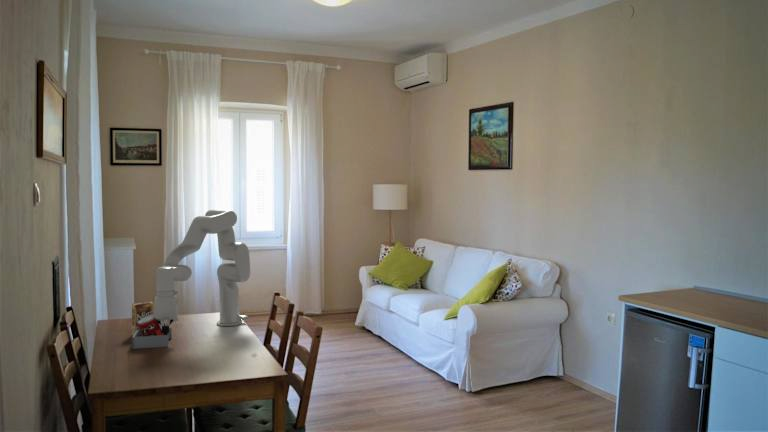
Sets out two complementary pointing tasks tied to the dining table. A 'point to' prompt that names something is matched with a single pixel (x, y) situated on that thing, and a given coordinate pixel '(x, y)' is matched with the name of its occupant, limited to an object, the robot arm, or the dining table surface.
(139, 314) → the candy box
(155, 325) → the canned food
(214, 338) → the dining table surface
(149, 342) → the box
